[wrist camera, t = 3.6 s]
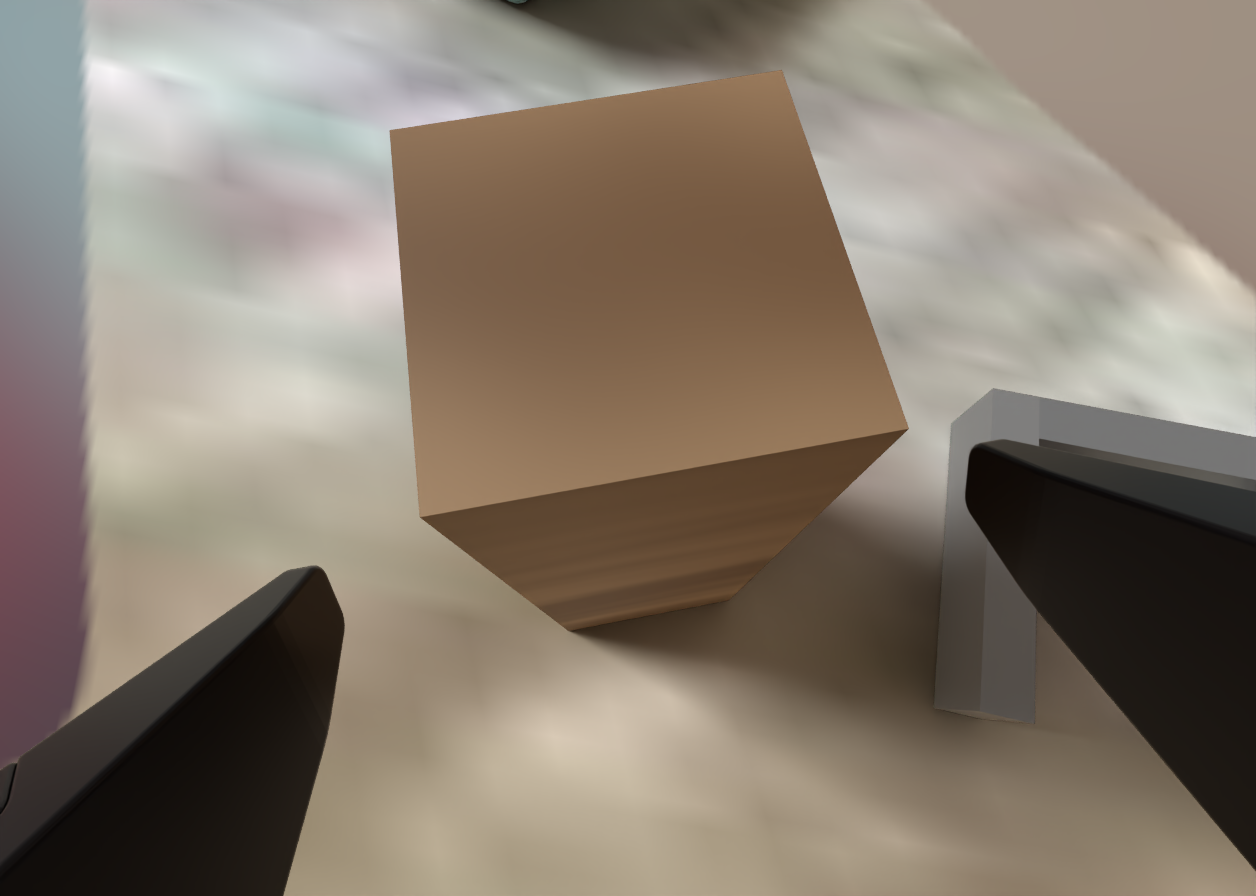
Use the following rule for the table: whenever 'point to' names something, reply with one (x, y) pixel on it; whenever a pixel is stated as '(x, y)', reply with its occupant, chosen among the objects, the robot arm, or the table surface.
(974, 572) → the u-shaped bracket
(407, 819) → the table surface
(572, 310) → the wooden block
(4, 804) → the robot arm
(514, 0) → the flower pot
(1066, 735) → the table surface
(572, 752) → the table surface
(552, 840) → the table surface
